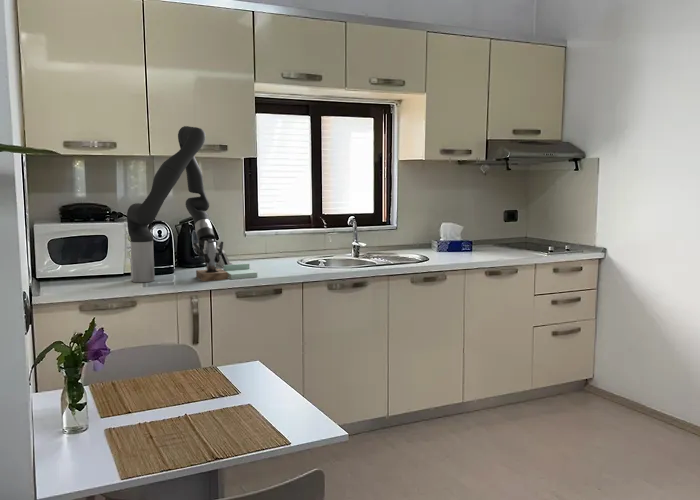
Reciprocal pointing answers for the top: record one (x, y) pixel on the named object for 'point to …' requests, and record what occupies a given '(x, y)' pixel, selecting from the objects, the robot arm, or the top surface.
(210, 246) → the rod
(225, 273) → the socket block
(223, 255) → the grey curved piece
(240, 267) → the rack base
